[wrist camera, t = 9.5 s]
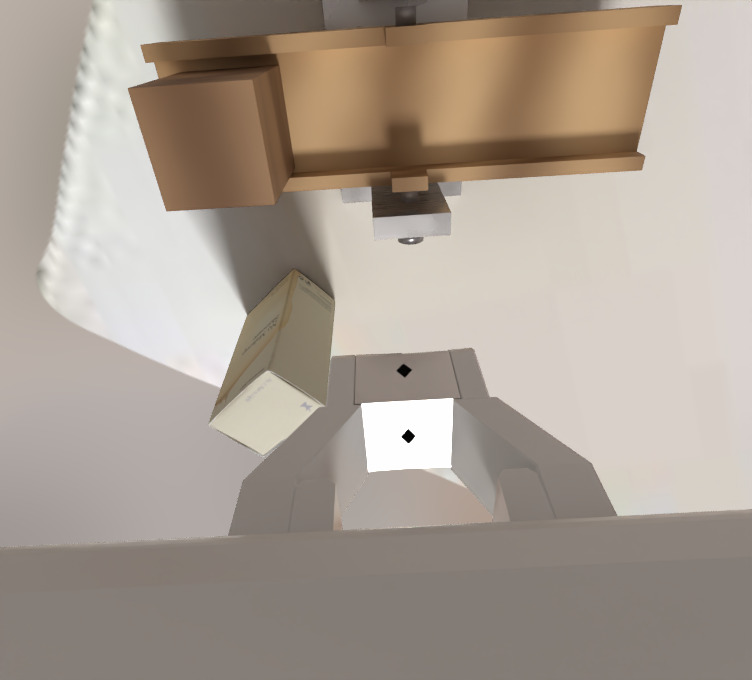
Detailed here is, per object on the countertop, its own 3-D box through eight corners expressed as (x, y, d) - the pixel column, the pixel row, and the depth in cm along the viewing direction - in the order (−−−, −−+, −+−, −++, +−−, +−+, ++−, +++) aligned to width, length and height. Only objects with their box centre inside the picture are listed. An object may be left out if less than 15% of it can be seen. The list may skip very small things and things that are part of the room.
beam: (636, -11, 25) (702, -16, 20) (602, 160, 29) (649, 190, 24) (173, 24, 25) (123, 27, 20) (213, 184, 30) (180, 218, 25)
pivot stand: (467, -50, 26) (511, -76, 18) (458, 191, 33) (487, 244, 26) (318, -39, 26) (301, -60, 18) (343, 199, 33) (337, 254, 26)
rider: (279, 64, 23) (252, 79, 18) (295, 167, 26) (275, 204, 21) (181, 72, 23) (127, 88, 18) (207, 173, 26) (166, 211, 21)
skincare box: (294, 265, 36) (268, 364, 26) (338, 301, 38) (330, 406, 28) (244, 317, 38) (202, 425, 28) (287, 348, 40) (263, 460, 30)
